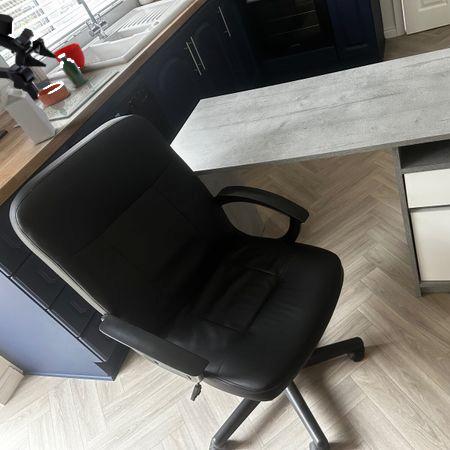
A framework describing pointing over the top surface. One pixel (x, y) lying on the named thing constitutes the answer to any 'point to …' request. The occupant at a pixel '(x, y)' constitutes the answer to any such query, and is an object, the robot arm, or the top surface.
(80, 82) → the green bottle
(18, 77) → the robot arm
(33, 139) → the milk carton
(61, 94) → the pot
